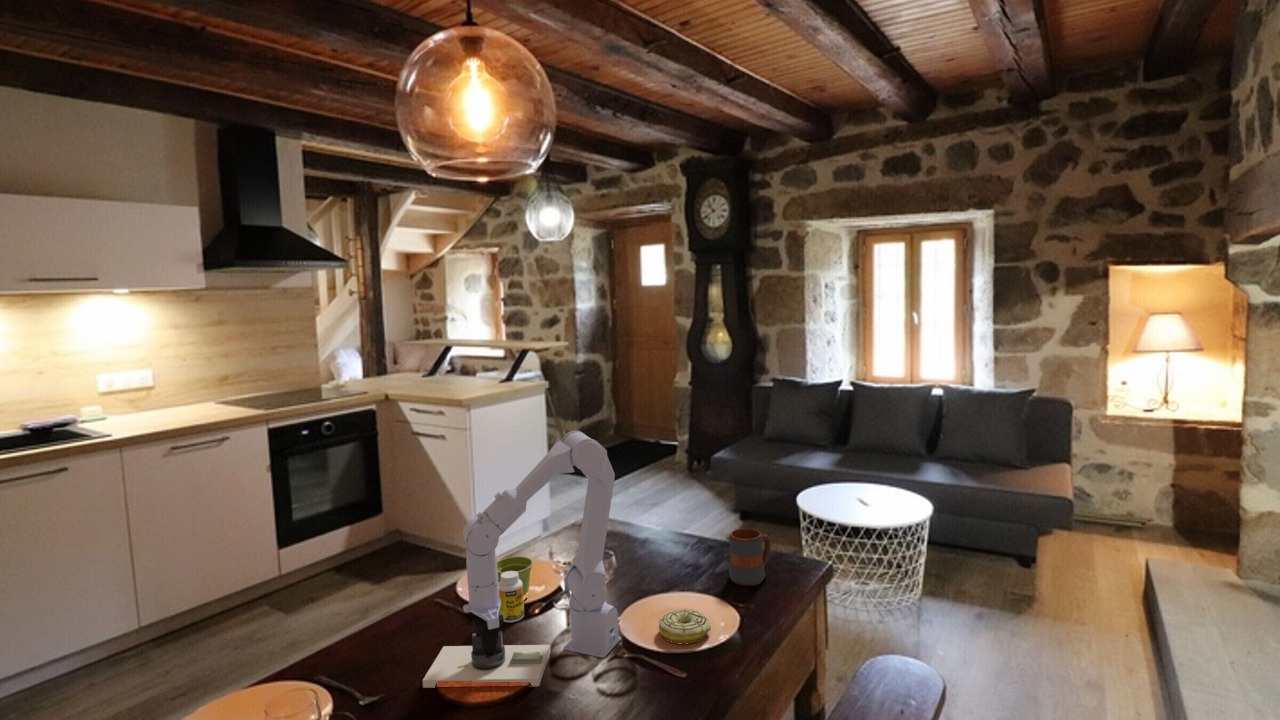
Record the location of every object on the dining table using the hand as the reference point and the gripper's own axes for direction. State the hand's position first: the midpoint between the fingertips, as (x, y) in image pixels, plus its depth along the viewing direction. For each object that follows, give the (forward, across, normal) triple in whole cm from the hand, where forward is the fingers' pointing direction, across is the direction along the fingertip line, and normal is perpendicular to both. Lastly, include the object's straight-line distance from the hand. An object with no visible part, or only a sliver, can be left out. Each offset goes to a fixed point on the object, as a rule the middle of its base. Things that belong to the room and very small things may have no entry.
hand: (487, 647), depth 134 cm
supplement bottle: (+5, -18, +9) cm, 21 cm away
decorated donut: (+5, +7, +40) cm, 41 cm away
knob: (+3, 0, 0) cm, 3 cm away
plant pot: (+5, -27, +12) cm, 30 cm away
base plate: (+4, 0, 0) cm, 4 cm away
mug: (+5, -8, +68) cm, 68 cm away
